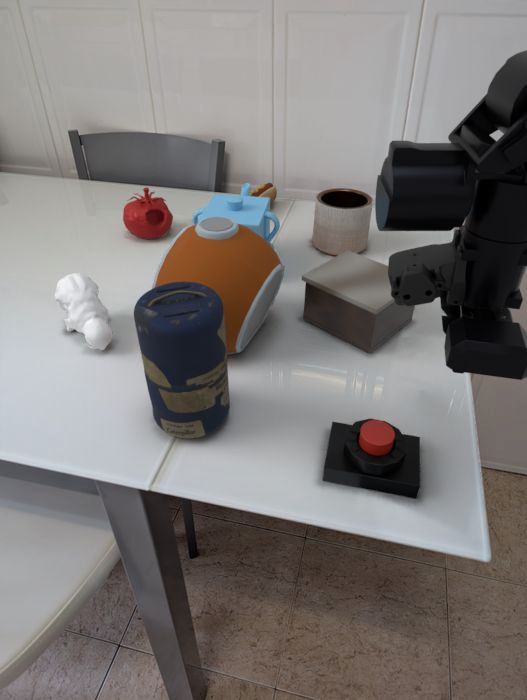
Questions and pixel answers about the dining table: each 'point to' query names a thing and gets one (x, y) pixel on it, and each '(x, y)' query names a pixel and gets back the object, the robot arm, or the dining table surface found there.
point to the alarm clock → (227, 272)
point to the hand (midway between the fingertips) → (457, 370)
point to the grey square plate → (354, 281)
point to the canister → (184, 357)
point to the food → (265, 192)
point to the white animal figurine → (84, 309)
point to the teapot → (242, 212)
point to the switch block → (373, 462)
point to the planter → (342, 220)
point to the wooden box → (354, 319)
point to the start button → (376, 437)
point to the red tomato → (147, 216)
